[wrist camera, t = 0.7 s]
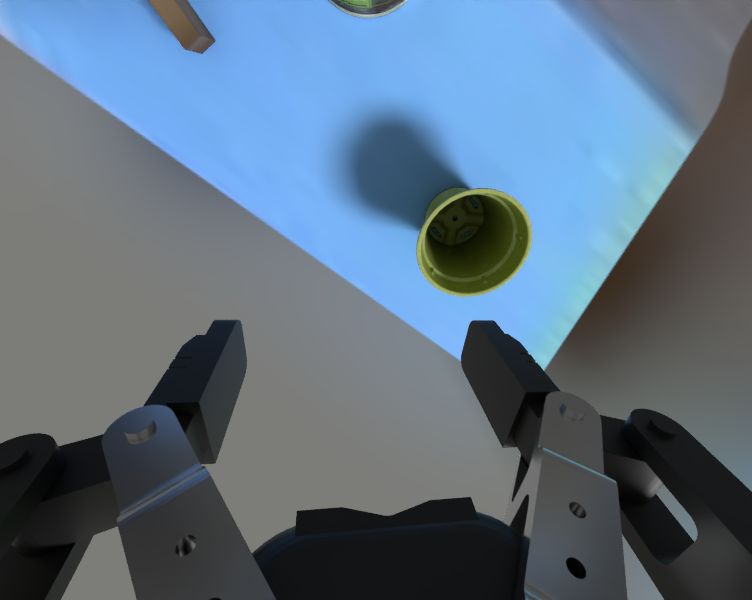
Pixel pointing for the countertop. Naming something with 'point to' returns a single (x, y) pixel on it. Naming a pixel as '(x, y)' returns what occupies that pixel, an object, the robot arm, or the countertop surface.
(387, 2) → the coffee can
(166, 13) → the bracket
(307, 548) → the robot arm
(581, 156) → the countertop surface
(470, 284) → the plant pot
